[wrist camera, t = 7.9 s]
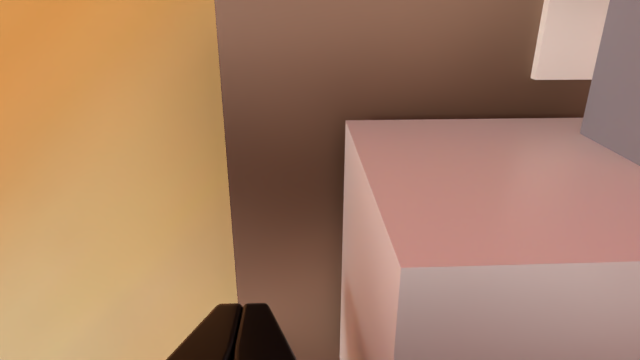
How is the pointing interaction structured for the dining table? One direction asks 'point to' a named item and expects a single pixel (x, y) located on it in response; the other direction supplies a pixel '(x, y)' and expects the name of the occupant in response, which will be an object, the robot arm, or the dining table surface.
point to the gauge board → (366, 116)
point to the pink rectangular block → (499, 228)
